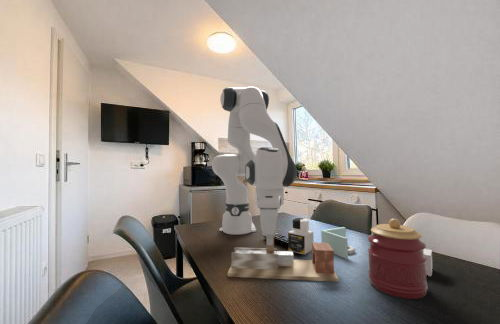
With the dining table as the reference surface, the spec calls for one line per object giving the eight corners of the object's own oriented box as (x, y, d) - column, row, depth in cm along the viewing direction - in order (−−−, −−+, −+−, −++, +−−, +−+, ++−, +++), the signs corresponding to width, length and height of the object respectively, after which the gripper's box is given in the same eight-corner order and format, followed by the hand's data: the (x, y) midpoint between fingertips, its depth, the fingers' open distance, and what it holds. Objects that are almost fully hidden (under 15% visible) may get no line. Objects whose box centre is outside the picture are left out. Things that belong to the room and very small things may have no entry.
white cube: (431, 276, 65) (430, 255, 65) (406, 271, 69) (405, 251, 69) (432, 269, 70) (431, 249, 70) (408, 264, 73) (408, 245, 74)
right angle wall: (346, 260, 78) (345, 238, 79) (321, 249, 89) (321, 230, 89) (369, 254, 83) (369, 234, 84) (344, 245, 94) (343, 227, 94)
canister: (360, 274, 66) (358, 214, 67) (405, 275, 66) (403, 214, 67) (385, 300, 53) (383, 224, 54) (441, 300, 53) (438, 224, 54)
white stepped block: (234, 263, 70) (234, 233, 71) (236, 259, 73) (236, 231, 74) (293, 266, 68) (293, 235, 68) (292, 261, 71) (292, 232, 72)
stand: (227, 276, 66) (227, 250, 66) (235, 260, 78) (234, 238, 78) (338, 281, 62) (337, 254, 63) (328, 263, 74) (327, 240, 75)
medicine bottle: (287, 250, 87) (287, 219, 87) (297, 246, 92) (297, 216, 93) (304, 255, 82) (304, 221, 82) (314, 250, 87) (313, 218, 88)
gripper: (261, 194, 82) (262, 233, 81) (256, 202, 62) (257, 254, 61) (279, 194, 81) (279, 233, 81) (280, 203, 61) (280, 255, 60)
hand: (270, 242), depth 71 cm, fingers closed on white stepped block, 2 cm apart
